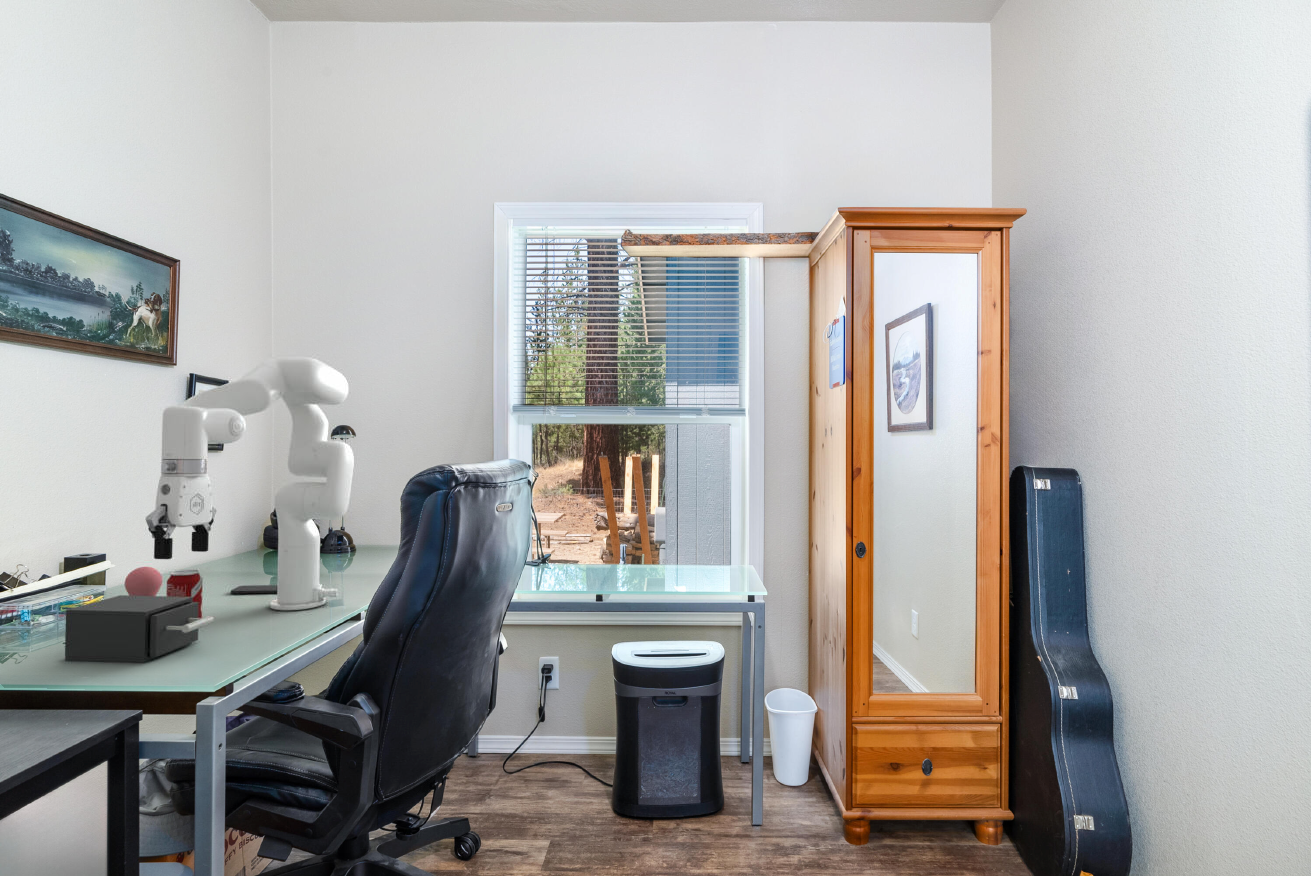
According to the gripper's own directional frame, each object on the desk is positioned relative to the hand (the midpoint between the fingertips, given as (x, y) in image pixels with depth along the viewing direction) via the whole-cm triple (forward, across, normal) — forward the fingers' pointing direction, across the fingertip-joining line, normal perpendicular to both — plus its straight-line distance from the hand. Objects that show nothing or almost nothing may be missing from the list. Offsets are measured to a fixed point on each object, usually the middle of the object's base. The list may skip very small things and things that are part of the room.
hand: (182, 554), depth 136 cm
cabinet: (+19, 0, +10) cm, 22 cm away
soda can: (+19, +20, +14) cm, 31 cm away
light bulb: (+19, +24, +28) cm, 42 cm away
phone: (+19, +55, +18) cm, 61 cm away
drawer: (+19, 0, +5) cm, 19 cm away
